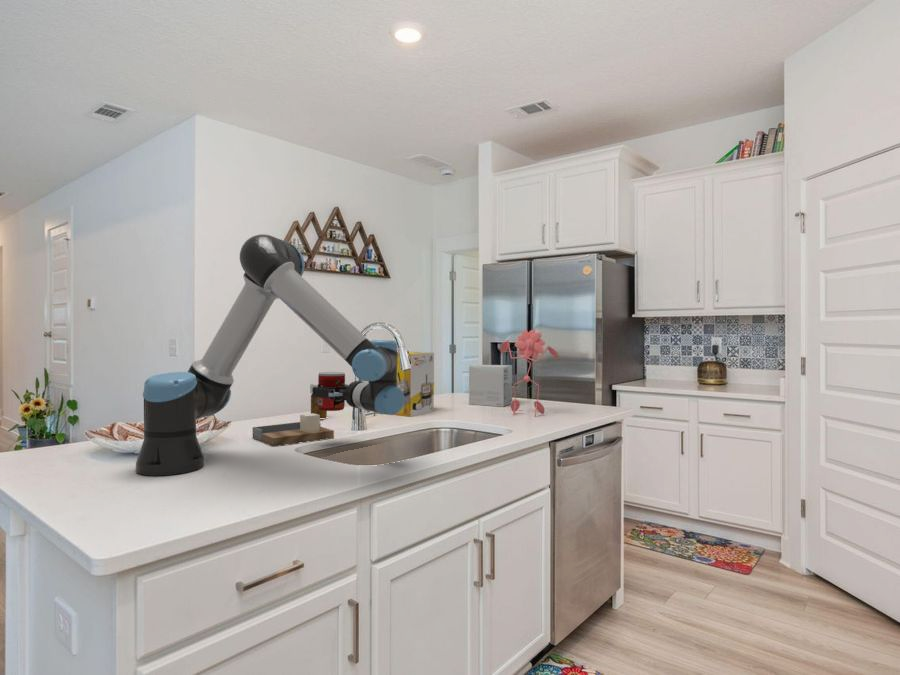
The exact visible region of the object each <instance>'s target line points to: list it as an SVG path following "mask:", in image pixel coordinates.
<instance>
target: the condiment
mask: <svg viewBox="0 0 900 675" xmlns="http://www.w3.org/2000/svg"><path fill="white" fill-rule="evenodd" d="M310 394H311V395H310V414H312V413H314V414H318V415H320V418H326V417H328V414H327V413H328V411H323V410H319V408H318V397H317V396H313V394H312V393H310Z"/></svg>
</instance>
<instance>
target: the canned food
mask: <svg viewBox="0 0 900 675" xmlns="http://www.w3.org/2000/svg"><path fill="white" fill-rule="evenodd" d="M317 378H318V379H317V380H318V384H321V386H323V387H330V388H336V387H345V384H346V373H345V372H342V371H320V372H318V377H317ZM318 384H317V385H318ZM340 390H341V389H340ZM345 401H346V400H343V399H336V398H334V399H333V400H331V399H329V398H323V397H318V408H319V410H323V411H327V412H338V411H343V410H344V409H345V405H346V404H345V403H346V402H345Z"/></svg>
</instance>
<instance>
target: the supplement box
mask: <svg viewBox="0 0 900 675" xmlns="http://www.w3.org/2000/svg"><path fill="white" fill-rule="evenodd" d="M512 402H513V365H512V364H508V365H507V364H474V365H469V366H468V405H475V406H488V407H489V406H490V407H505V406H508V405H511V403H512Z"/></svg>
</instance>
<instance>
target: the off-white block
mask: <svg viewBox="0 0 900 675" xmlns="http://www.w3.org/2000/svg"><path fill="white" fill-rule="evenodd" d="M299 418H300V419H299V422H300V430H301V431H304V432H314V431H320V427H321V420H320V415H318V414H314V413H312V414H311V413H305V414H303V413H302V414H300V415H299Z"/></svg>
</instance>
